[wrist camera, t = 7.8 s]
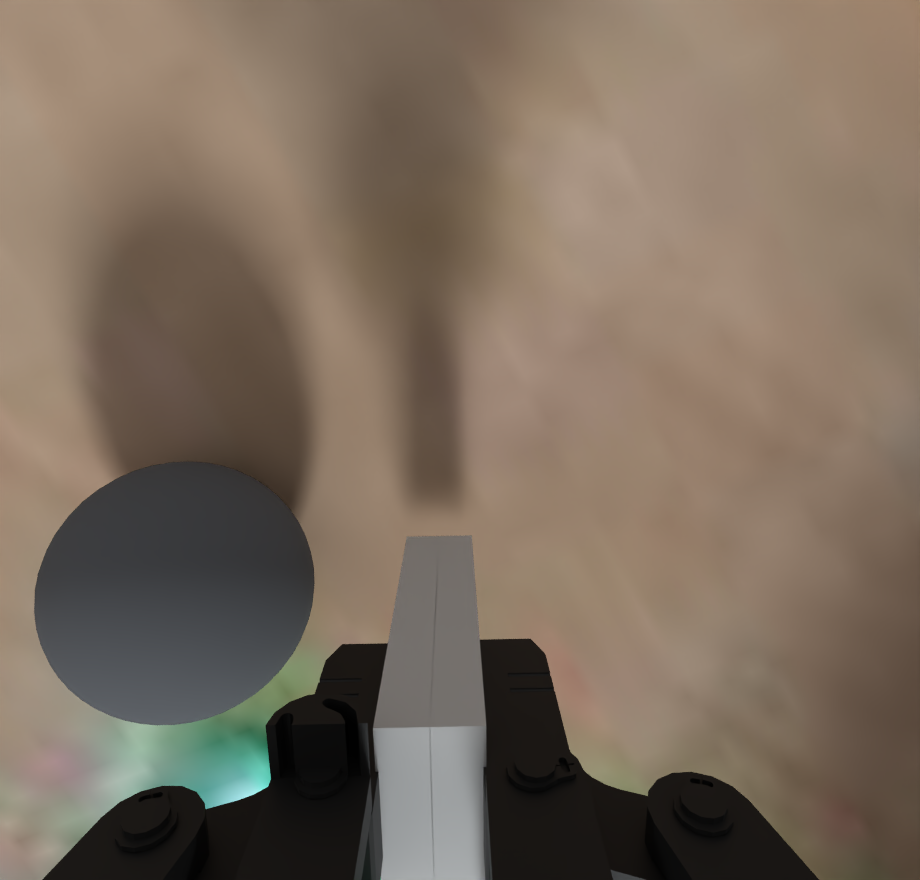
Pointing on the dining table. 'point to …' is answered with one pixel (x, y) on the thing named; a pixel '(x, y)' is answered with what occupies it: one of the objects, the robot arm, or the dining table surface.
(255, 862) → the robot arm
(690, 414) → the dining table surface
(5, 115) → the dining table surface
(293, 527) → the charcoal grey ball
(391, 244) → the dining table surface
